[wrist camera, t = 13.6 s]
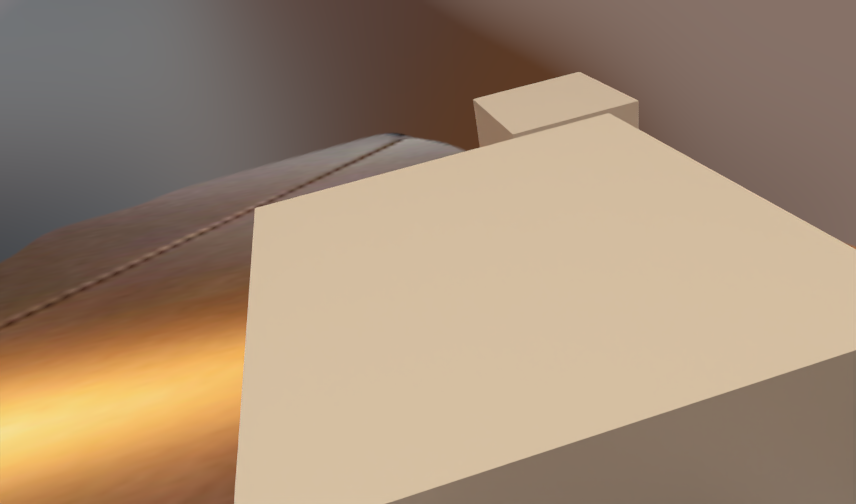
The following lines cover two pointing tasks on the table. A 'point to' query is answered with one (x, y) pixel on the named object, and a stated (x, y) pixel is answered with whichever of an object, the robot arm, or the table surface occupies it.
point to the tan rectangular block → (547, 335)
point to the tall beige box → (549, 107)
